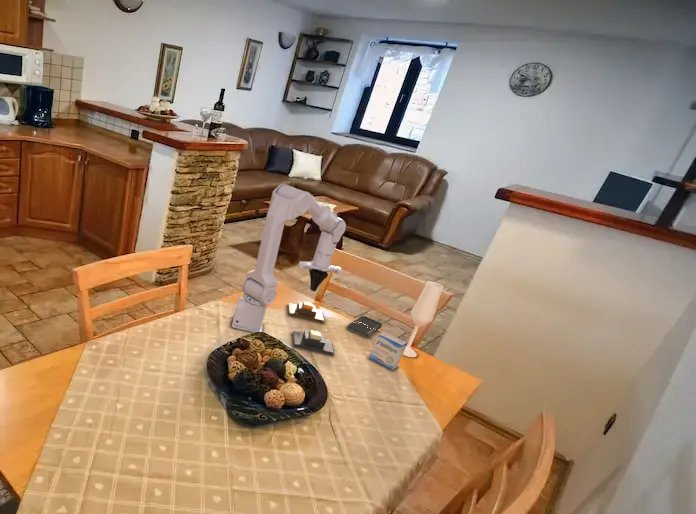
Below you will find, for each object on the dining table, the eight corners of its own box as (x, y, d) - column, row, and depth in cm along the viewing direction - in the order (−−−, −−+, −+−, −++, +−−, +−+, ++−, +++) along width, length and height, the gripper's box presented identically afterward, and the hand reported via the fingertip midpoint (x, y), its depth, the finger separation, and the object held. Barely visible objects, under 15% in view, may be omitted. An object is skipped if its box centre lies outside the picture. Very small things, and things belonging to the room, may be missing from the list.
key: (309, 338, 153) (311, 334, 152) (309, 334, 156) (310, 329, 155) (320, 341, 153) (321, 336, 152) (319, 336, 156) (320, 332, 155)
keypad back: (288, 315, 172) (290, 308, 171) (287, 305, 180) (290, 298, 179) (322, 323, 172) (325, 315, 170) (320, 313, 180) (323, 305, 178)
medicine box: (368, 358, 154) (377, 334, 150) (374, 354, 157) (384, 330, 153) (392, 370, 150) (402, 345, 146) (397, 366, 153) (408, 342, 149)
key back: (302, 308, 173) (304, 304, 173) (302, 305, 176) (303, 301, 176) (311, 310, 173) (313, 306, 173) (311, 307, 176) (312, 303, 175)
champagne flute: (416, 359, 160) (447, 290, 149) (395, 352, 162) (424, 284, 151) (416, 351, 166) (446, 284, 155) (396, 344, 168) (424, 278, 157)
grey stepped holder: (293, 347, 152) (296, 338, 150) (292, 334, 160) (295, 325, 158) (332, 356, 151) (335, 347, 150) (329, 342, 159) (332, 334, 158)
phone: (383, 324, 178) (368, 335, 167) (382, 326, 179) (367, 338, 167) (362, 315, 182) (346, 325, 171) (361, 318, 182) (345, 328, 171)
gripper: (308, 253, 160) (296, 292, 167) (349, 259, 164) (336, 297, 170) (301, 246, 167) (290, 284, 173) (340, 252, 170) (328, 288, 176)
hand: (312, 290), depth 172 cm, fingers closed
